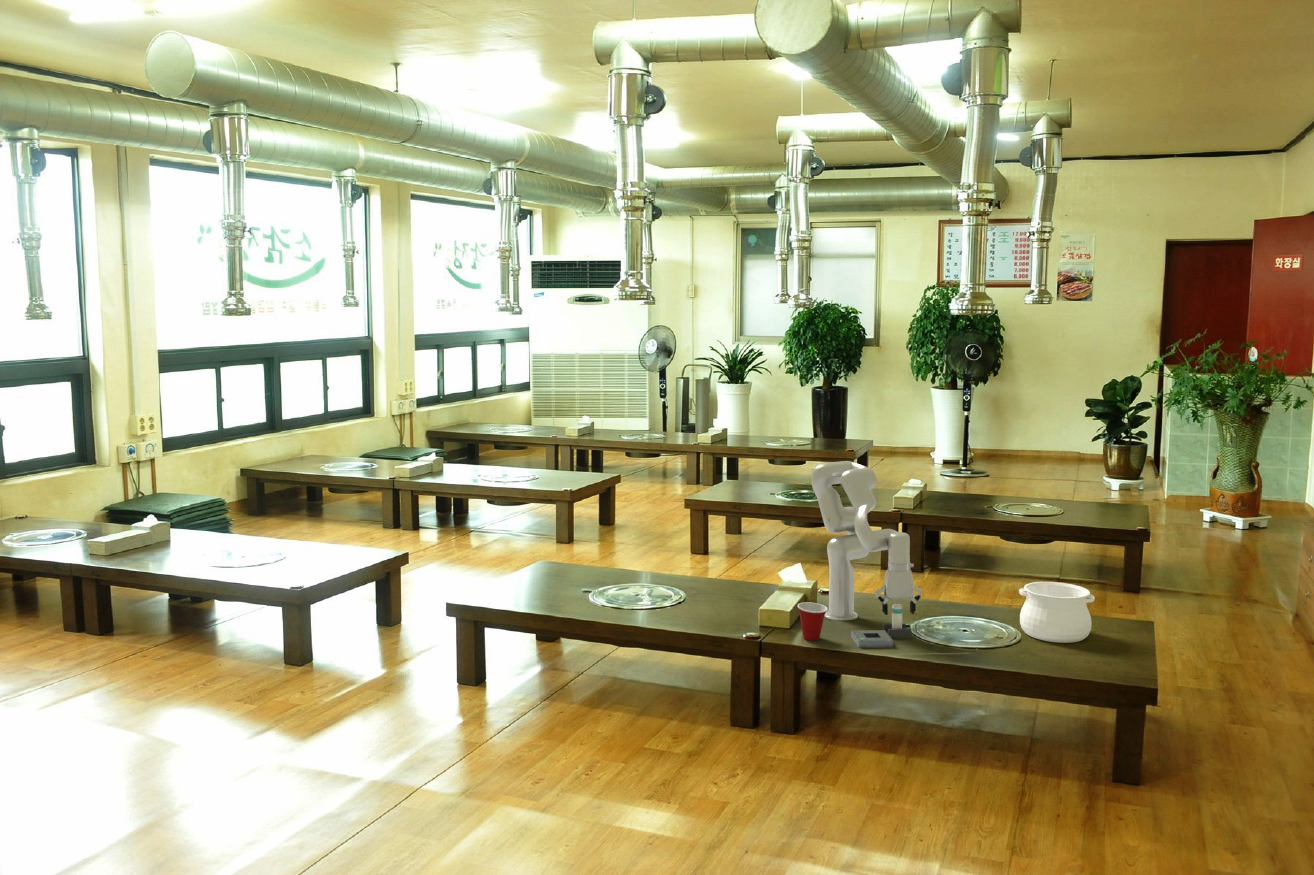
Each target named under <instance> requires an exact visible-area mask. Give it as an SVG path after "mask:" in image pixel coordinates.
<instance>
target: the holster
mask: <svg viewBox="0 0 1314 875" xmlns="http://www.w3.org/2000/svg"><path fill="white" fill-rule="evenodd" d="M882 626H883V627H882V630H885V631H886V632H887V634H888V635H889V636H890V637H891V638H892V639H911V636H912V635H911V634H912V630H911V628H907V624H906V623H902V629H892V623H883V625H882Z"/></svg>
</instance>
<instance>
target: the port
mask: <svg viewBox="0 0 1314 875" xmlns="http://www.w3.org/2000/svg"><path fill="white" fill-rule="evenodd" d="M850 635H851V639H852V640H853V642H854V644H856V646H857V648H859V649H861V648H862V649H864V648H866V649H867V648H871V649H873V648H875V649H876V648H877V649H878V648H894V640H893V638H891V637H890V636H889V635H888V634H887V632H886V631H885V630H883V629H879V630H877V629H873V630H871V629H869V630H865V629H863V630H862V629H860V630H859V629H858V630H851V633H850Z"/></svg>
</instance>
